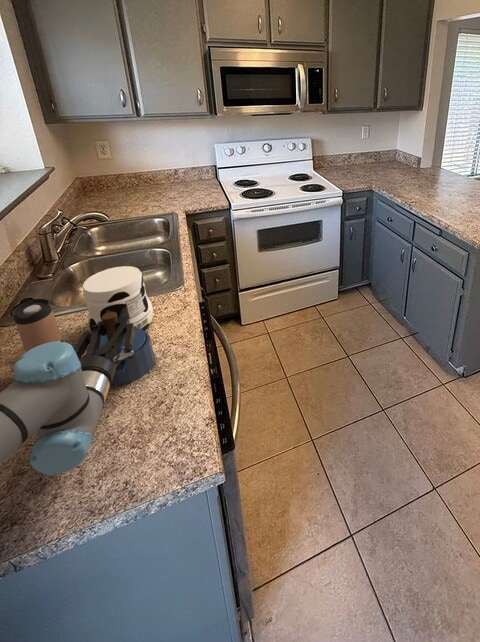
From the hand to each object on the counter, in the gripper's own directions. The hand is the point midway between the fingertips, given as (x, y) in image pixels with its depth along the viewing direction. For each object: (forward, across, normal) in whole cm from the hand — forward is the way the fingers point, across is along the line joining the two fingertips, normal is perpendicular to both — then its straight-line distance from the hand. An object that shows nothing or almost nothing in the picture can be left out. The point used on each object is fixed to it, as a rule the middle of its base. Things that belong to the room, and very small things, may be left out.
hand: (117, 313), depth 89 cm
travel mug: (+6, -20, -18) cm, 28 cm away
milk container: (+20, -6, -18) cm, 27 cm away
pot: (+1, 0, -18) cm, 18 cm away
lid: (-5, 0, -5) cm, 8 cm away
